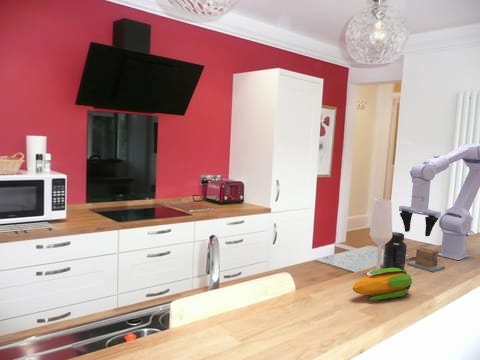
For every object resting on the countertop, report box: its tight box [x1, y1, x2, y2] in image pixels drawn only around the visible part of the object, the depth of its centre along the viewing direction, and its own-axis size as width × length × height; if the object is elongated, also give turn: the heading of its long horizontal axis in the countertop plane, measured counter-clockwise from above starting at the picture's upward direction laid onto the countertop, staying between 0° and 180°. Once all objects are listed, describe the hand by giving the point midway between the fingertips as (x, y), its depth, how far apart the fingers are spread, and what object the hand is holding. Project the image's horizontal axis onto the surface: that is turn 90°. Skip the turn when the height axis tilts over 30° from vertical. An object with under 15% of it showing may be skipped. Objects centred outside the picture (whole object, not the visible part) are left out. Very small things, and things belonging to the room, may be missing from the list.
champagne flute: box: [366, 198, 393, 277], centre depth 119 cm, size 7×7×24 cm
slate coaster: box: [406, 259, 446, 273], centre depth 131 cm, size 8×9×1 cm
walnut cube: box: [415, 247, 439, 268], centre depth 131 cm, size 5×5×5 cm
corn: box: [352, 268, 413, 301], centre depth 103 cm, size 7×8×20 cm
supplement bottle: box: [382, 231, 407, 271], centre depth 128 cm, size 7×7×12 cm
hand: (417, 233), depth 140 cm, fingers open, 7 cm apart
